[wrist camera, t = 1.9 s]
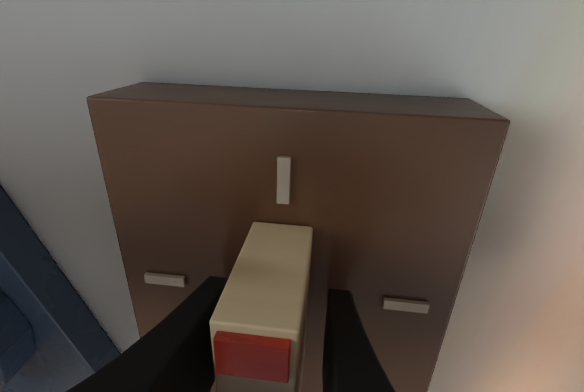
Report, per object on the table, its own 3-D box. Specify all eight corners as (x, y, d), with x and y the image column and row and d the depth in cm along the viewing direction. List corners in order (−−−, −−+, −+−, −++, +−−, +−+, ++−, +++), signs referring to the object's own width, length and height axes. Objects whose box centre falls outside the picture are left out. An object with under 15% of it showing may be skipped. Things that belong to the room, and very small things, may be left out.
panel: (398, 387, 17) (409, 458, 14) (184, 359, 18) (155, 420, 15) (469, 98, 11) (515, 121, 8) (141, 81, 12) (80, 97, 9)
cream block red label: (305, 350, 12) (290, 490, 9) (255, 344, 13) (220, 479, 9) (313, 226, 10) (297, 342, 6) (253, 220, 10) (203, 331, 7)
